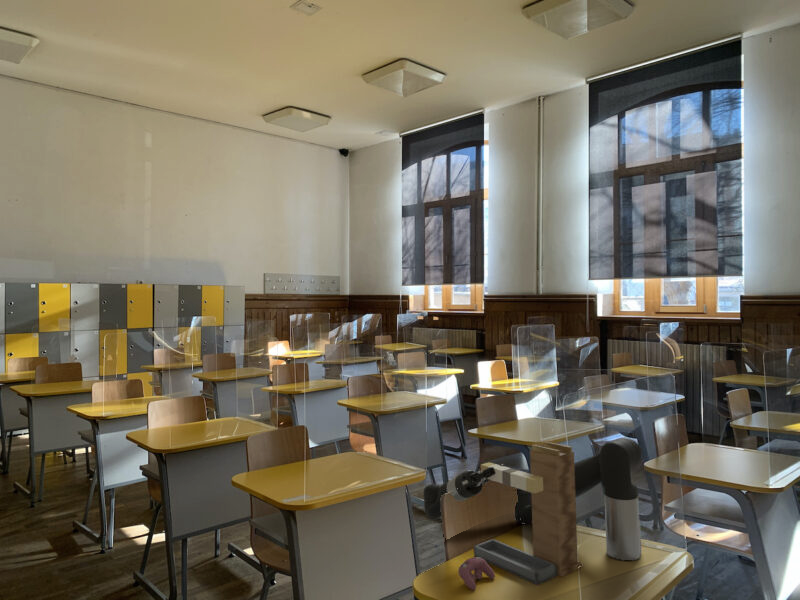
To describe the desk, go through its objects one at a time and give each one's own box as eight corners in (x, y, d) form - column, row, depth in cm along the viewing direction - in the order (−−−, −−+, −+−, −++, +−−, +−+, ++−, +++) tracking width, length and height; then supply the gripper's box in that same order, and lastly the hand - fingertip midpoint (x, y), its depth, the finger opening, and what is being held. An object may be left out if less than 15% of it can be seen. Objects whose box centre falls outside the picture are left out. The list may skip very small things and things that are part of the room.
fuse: (489, 474, 176) (489, 462, 176) (543, 490, 160) (542, 477, 160) (481, 476, 174) (480, 464, 174) (534, 493, 158) (534, 480, 158)
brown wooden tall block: (550, 554, 173) (546, 440, 173) (582, 566, 164) (577, 446, 165) (529, 563, 168) (525, 445, 168) (561, 576, 159) (557, 452, 159)
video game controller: (485, 580, 162) (475, 554, 164) (497, 577, 159) (487, 550, 161) (462, 593, 155) (452, 566, 157) (474, 590, 152) (464, 562, 154)
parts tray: (493, 548, 178) (492, 538, 178) (556, 575, 160) (556, 564, 160) (474, 556, 174) (473, 546, 174) (537, 585, 155) (537, 573, 155)
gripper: (442, 479, 179) (476, 460, 167) (475, 469, 188) (510, 451, 176) (451, 503, 176) (486, 486, 165) (484, 493, 185) (520, 476, 173)
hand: (498, 468), depth 170 cm, fingers closed on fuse, 3 cm apart
